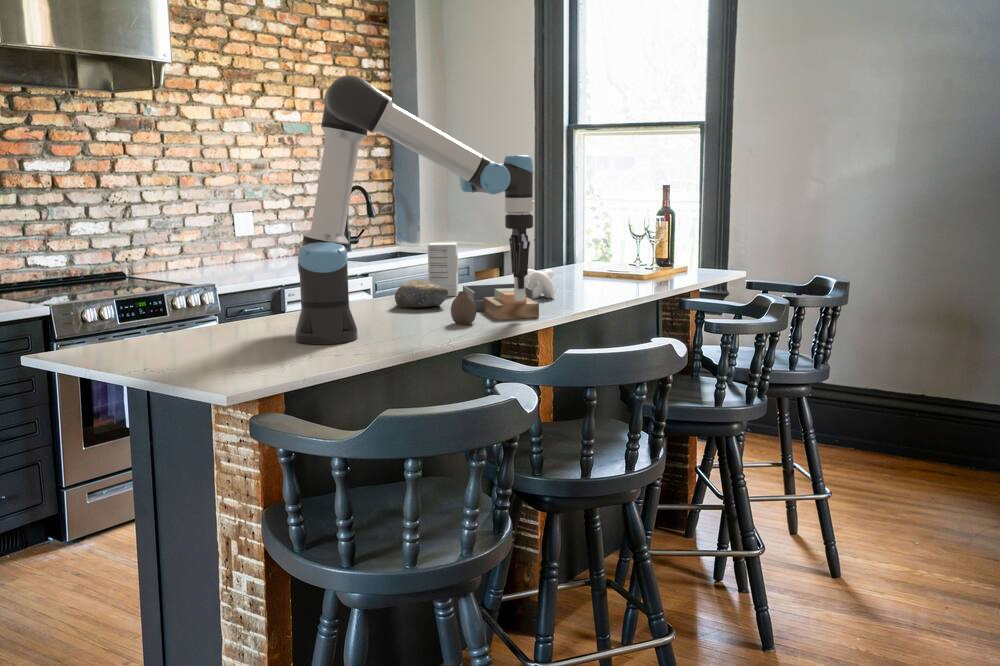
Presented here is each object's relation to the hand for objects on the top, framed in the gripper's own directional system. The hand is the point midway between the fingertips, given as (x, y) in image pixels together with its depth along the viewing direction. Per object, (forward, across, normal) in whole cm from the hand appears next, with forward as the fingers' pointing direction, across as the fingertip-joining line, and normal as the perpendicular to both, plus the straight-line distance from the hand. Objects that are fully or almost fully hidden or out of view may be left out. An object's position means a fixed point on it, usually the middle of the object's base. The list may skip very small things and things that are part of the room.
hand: (519, 300), depth 250 cm
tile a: (+1, +7, 0) cm, 7 cm away
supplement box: (+6, +55, +11) cm, 56 cm away
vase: (+6, -1, +16) cm, 17 cm away
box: (+5, +26, 0) cm, 26 cm away
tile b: (+1, +14, 0) cm, 14 cm away
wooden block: (+5, +10, 0) cm, 11 cm away
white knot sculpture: (+6, +38, -17) cm, 42 cm away
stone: (+6, +31, +23) cm, 39 cm away
